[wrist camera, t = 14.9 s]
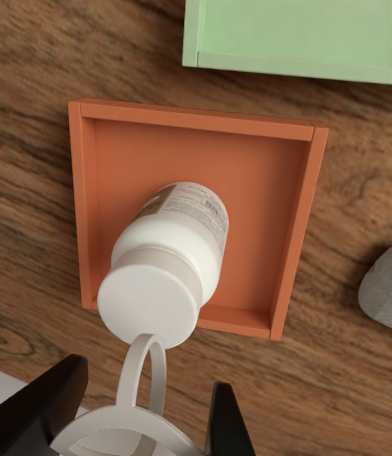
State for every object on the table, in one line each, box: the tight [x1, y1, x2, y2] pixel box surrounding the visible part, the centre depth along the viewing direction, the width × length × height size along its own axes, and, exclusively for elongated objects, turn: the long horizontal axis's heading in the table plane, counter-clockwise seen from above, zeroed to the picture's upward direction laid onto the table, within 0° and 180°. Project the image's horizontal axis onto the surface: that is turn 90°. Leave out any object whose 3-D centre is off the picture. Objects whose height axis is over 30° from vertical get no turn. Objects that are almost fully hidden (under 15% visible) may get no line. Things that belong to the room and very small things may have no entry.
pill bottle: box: [97, 181, 229, 350], centre depth 15 cm, size 4×4×8 cm
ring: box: [50, 333, 207, 456], centre depth 9 cm, size 3×3×3 cm
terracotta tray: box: [68, 98, 329, 341], centre depth 18 cm, size 11×11×2 cm
